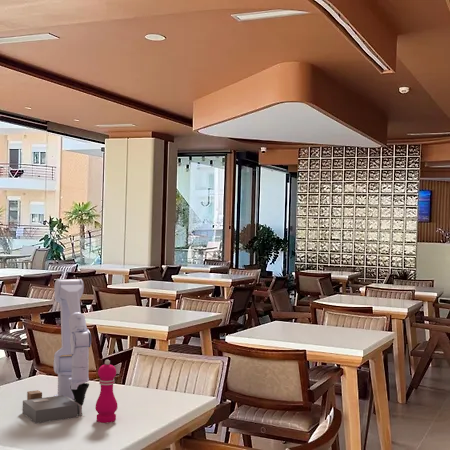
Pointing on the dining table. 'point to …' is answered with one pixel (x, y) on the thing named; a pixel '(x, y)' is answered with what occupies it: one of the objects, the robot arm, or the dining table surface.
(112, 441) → the dining table surface
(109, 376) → the pepper mill
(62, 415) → the box
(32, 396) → the walnut block
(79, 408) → the tray
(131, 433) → the dining table surface
